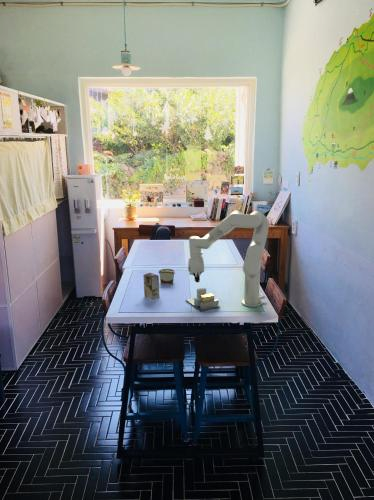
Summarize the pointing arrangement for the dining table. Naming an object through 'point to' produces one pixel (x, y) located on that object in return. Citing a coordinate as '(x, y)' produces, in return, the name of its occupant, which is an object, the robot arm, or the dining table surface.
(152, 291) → the coffee box
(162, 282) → the food container
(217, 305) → the panel
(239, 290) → the dining table surface
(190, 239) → the robot arm
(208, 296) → the block
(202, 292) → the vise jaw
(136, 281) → the dining table surface
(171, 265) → the dining table surface
